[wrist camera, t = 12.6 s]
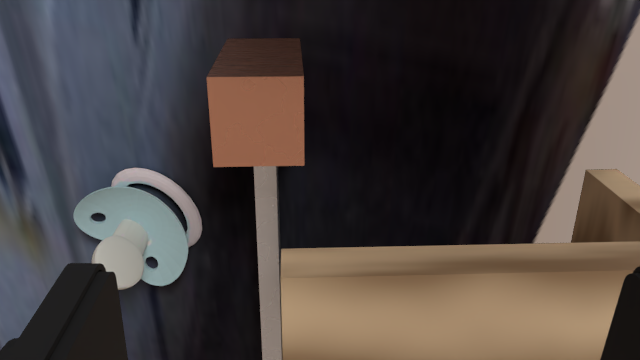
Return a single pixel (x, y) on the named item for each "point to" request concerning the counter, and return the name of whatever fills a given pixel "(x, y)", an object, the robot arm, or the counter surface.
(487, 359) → the oak shelf
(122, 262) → the pacifier
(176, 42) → the counter surface
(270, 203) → the orange-brown mallet
